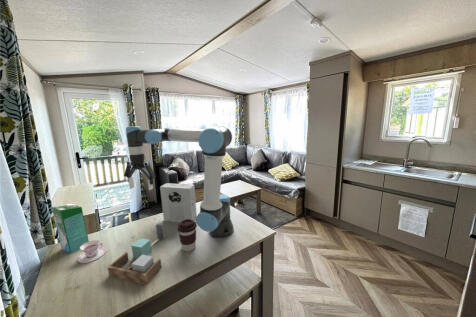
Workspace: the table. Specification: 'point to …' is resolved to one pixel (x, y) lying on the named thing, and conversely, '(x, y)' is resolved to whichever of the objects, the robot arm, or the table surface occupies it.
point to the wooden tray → (132, 275)
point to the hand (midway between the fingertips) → (141, 188)
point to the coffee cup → (187, 234)
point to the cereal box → (178, 202)
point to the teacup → (91, 251)
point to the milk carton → (70, 227)
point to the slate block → (142, 263)
